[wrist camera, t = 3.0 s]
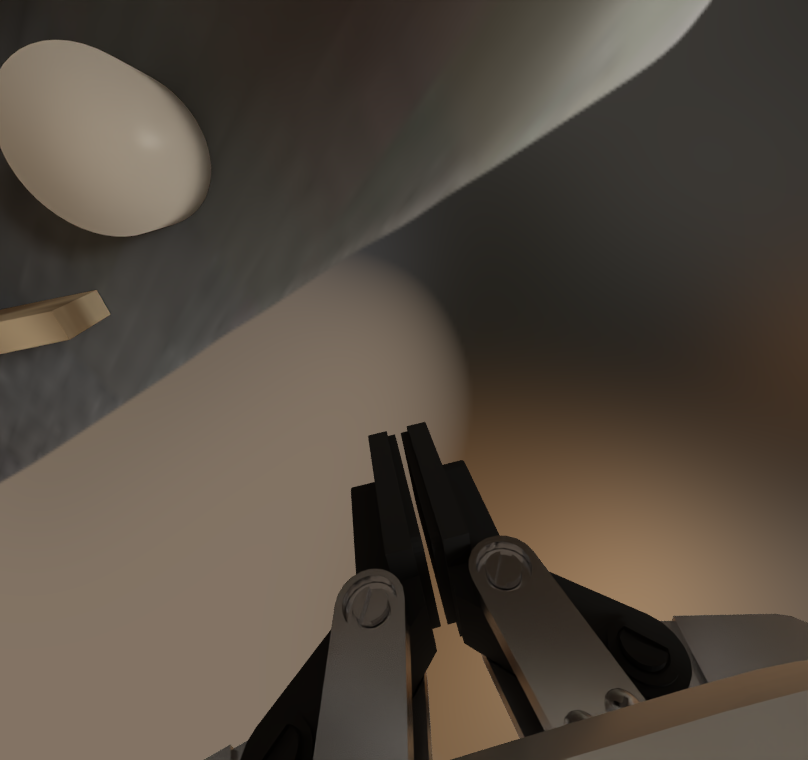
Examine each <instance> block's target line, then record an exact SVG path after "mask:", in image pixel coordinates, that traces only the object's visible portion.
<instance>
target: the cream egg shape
mask: <svg viewBox="0 0 808 760" xmlns="http://www.w3.org/2000/svg"><path fill="white" fill-rule="evenodd" d="M0 148H1V150H2V152H3V154H4V156H5V158H6V160H7V162H8V164H9V165H10V167H11V168H12V170H13V172H14V173H15V175H16V176H17V177H18V179H19V180H20V181H21V182H22V184H23V185H24V186H25V187H26V188H27V190H28V191H29V192H30V193H31V194H32V195H33V196H34V197H35V198H36V199H37V200H38V201H40V202H41V203H42V204H43V205H44V206H45V207H47V208H48V209H49V210H51V211H52V212H53V213H55V214H56V215H58V216H59V217H61V218H63V219H64V220H66V221H68V222H69V223H72V224H74V225H76V226H78V227H80V228H82V229H85V230H88V231H91V232H94V233H98V234H102V235H108V236H124V237H127V236H135V235H140V234H143V233H147V232H150V231H153V230H157V229H160V228H163V227H167V226H170V225H174V224H177V223H179V222H181V221H184V220H185V219H187V218H188V217H190V216H191V215H192V214H193V213H195V212H196V211H197V210H198V208H199V207H200V206H201V205H202V203H203V201H204V199H205V197H206V195H207V192H208V190H209V186H210V181H211V159H210V154H209V149H208V146H207V143H206V139H205V137H204V135H203V132H202V130H201V128H200V126H199V124H198V123H197V121H196V119H195V118H194V116H193V115H192V113H191V112H190V110H189V109H188V108H187V107H186V106H185V104H184V103H183V102H182V101H181V100H180V99H179V98H178V97H177V96H176V95H175V94H174V93H173V92H172V91H171V90H169V89H168V88H167V87H166V86H164V85H163V84H162V83H160V82H158V81H157V80H155V79H154V78H152V77H150V76H148V75H146V74H145V73H143V72H141V71H139V70H137V69H135V68H133V67H132V66H130V65H128V64H126V63H124V62H122V61H120V60H118V59H117V58H115V57H113V56H111V55H109V54H107V53H105V52H103V51H101V50H99V49H97V48H94V47H91V46H88V45H85V44H82V43H77V42H73V41H66V40H46V41H40V42H36V43H32V44H29V45H27V46H25V47H23V48H21V49H19V50H18V51H17V52H15V53H14V54H13V55H11V56H10V57H9V58H8V59H7V61H6V62H5V63H4V64H3V65H2V67H1V69H0Z"/></svg>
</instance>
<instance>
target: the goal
mask: <svg viewBox="0 0 808 760" xmlns="http://www.w3.org/2000/svg"><path fill="white" fill-rule="evenodd" d="M109 315H111V314H110V312H109V311H108V309H107V307H106V305H105V304H104V302H103V300H102V298H101V297H100V295H99V293H98V291H97V290H94V291H89V292H84V293H79V294H74V295H69V296H64V297H59V298H55V299H50V300H45V301H40V302H35V303H30V304H25V305H20V306H15V307H11V308H6V309H1V310H0V354H3V353H8V352H13V351H18V350H22V349H27V348H32V347H37V346H41V345H46V344H51V343H56V342H60V341H65V340H70V339H71V338H73V337H75V336H76V335H78V334H80V333H81V332H83V331H85V330H86V329H88V328H89V327H91V326H93V325H94V324H96V323H98V322H99V321H101V320H102V319H104V318H106V317H107V316H109Z"/></svg>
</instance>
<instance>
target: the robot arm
mask: <svg viewBox="0 0 808 760" xmlns="http://www.w3.org/2000/svg"><path fill="white" fill-rule="evenodd" d="M401 436H402V441H403V446H404V450H405V455H406V460H407V464H408V469H409V473H410V477H411V482H412V487H413V492H414V496H415V501H416V505H417V509H418V513H419V517H420V521H421V525H422V528H423V532H424V536H425V540H426V544H427V547H428V551H429V555H430V558H431V562H432V566H433V570H434V573H435V578H436V581H437V585H438V589H439V593H440V596H441V600H442V604H443V608H444V612H445V615H446V619H447V623H448V624H451V623H455V622H456V623H457V627H458V631H459V634H460V636H462V637H463V640H464V643H465V644H467V645H468V646H470V647H472V648H473V649H475V650H476V651H478V652H479V653H481V654H482V658H483V661H484V663H485V665H486V667H487V669H488V671H489V674H490V676H491V678H492V680H493V682H494V684H495V686H496V689H497V691H498V693H499V694H500V697H501V699H502V701H503V704H504V706H505V708H506V710H507V712H508V714H509V716H510V719H511V721H512V723H513V725H514V727H515V729H516V731H517V733H518V736H519V738H520V739H518V740H514V741H511V742H508V743H504V744H501V745H498V746H494V747H491V748H488V749H485V750H481V751H478V752H475V753H471V754H468V755H465V756H462V757H459V758H455V759H452V760H808V623H807V622H804V621H802V620H799V619H797V618H794V617H792V616H786V615H779V614H745V615H699V616H673V619H672V621H659V620H657V619H655V618H653V617H652V616H650V615H648V614H646V613H643V612H641V611H638V610H636V609H634V608H632V607H629V606H627V605H625V604H623V603H620V602H618V601H615V600H613V599H611V598H609V597H606V596H604V595H602V594H600V593H597V592H595V591H592V590H590V589H588V588H586V587H583V586H581V585H578V584H576V583H574V582H572V581H569V580H567V579H565V578H562V577H560V576H558V575H555V574H553V573H551V572H549V571H548V570H547V568H546V567H545V566H544V565H543V563H542V562H541V561H540V559H539V558H538V557H537V555H536V554H535V553H534V551H532V549H531V548H530V547H529V546H528V545H526V544H525V543H524V542H522V541H520V540H518V539H516V538H512V537H509V536H500V535H499V533H498V531H497V529H496V527H495V525H494V523H493V521H492V519H491V516H490V514H489V512H488V510H487V508H486V506H485V504H484V502H483V500H482V498H481V495H480V493H479V491H478V489H477V487H476V485H475V483H474V481H473V479H472V477H471V475H470V472H469V470H468V468H467V466H466V464H465V463H464V461H463V460H460V461H457V462H452V463H448V464H444V465H442V463H441V461H440V458H439V456H438V453H437V451H436V448H435V446H434V443H433V440H432V438H431V435H430V433H429V430H428V428H427V425H426V423H425V422H423V423H419V424H414V425H411V426H407V432H403V433H401ZM368 438H369V445H370V452H371V459H372V466H373V472H374V479H375V482H373V483H369V484H365V485H361V486H357V487H353V488H351V499H352V514H353V530H354V547H355V563H356V575H355V576H353V577H352V578H350V579H349V580H348V581H347V582H346V583H345V584H344V586H343V587H342V589H341V590H340V592H339V594H338V596H337V600H336V603H335V607H334V615H333V621H332V628H331V630H330V631H329V633H328V634H327V636H326V637H325V638H324V639H323V641H322V642H321V643H320V645H319V646H318V647H317V648H316V650H315V651H314V652H313V654H312V655H311V656H310V658H309V659H308V660H307V662H306V663H305V664H304V666H303V667H302V668H301V670H300V671H299V672H298V673H297V675H296V676H295V677H294V679H293V680H292V681H291V682H290V684H289V685H288V686H287V688H286V689H285V690H284V692H283V693H282V694H281V696H280V697H279V698H278V699H277V701H276V702H275V703H274V705H273V706H272V707H271V709H270V710H269V711H268V713H267V714H266V715H265V717H264V718H263V719H262V720H261V722H260V723H259V724H258V726H257V727H256V729H255V730H254V732H253V733H252V735H251V737H250V738H249V740H248V741H246V742H244V743H243V744H241V745H239V746H237V747H236V748H233V747H232V746H231V745H229V746H227V747H225V748H224V749H222V750H220V751H218V752H217V753H215V754H213V755H211V756H210V757H208V758H206V759H204V760H432V744H431V729H430V713H429V696H428V680H427V673H426V670H427V668H428V666H429V665H430V663H431V661H432V659H433V657H434V655H435V653H436V652H437V649H436V645H435V644H436V643H435V639H434V635H433V630H432V629H434V628H437V627H440V626H441V625H440V620H439V615H438V611H437V607H436V602H435V598H434V593H433V589H432V584H431V580H430V575H429V571H428V566H427V562H426V557H425V552H424V548H423V544H422V540H421V536H420V532H419V528H418V524H417V520H416V516H415V512H414V508H413V504H412V500H411V496H410V492H409V488H408V484H407V480H406V477H405V472H404V468H403V464H402V460H401V456H400V452H399V449H398V444H397V441H396V437H395V435H391V436H388V435H387V432H381V433H377V434H373V435H369V436H368Z"/></svg>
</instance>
